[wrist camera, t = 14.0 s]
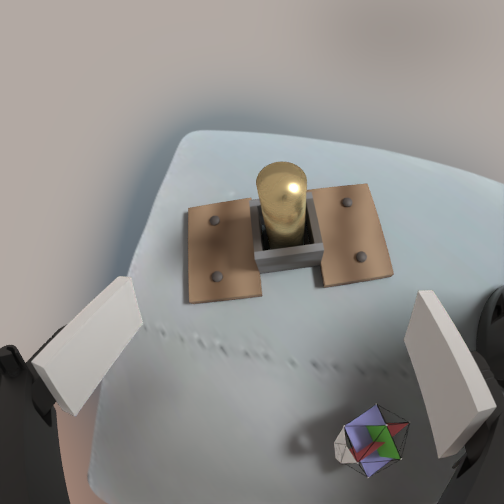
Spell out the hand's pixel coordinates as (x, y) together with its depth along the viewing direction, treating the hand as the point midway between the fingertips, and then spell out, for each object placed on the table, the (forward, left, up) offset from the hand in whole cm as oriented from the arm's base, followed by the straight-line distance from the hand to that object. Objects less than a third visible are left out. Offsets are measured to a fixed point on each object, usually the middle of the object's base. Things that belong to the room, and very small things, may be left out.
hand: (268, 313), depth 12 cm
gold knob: (-2, -11, -18) cm, 22 cm away
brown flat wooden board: (-2, -11, -18) cm, 22 cm away
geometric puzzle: (-8, +12, -19) cm, 23 cm away
